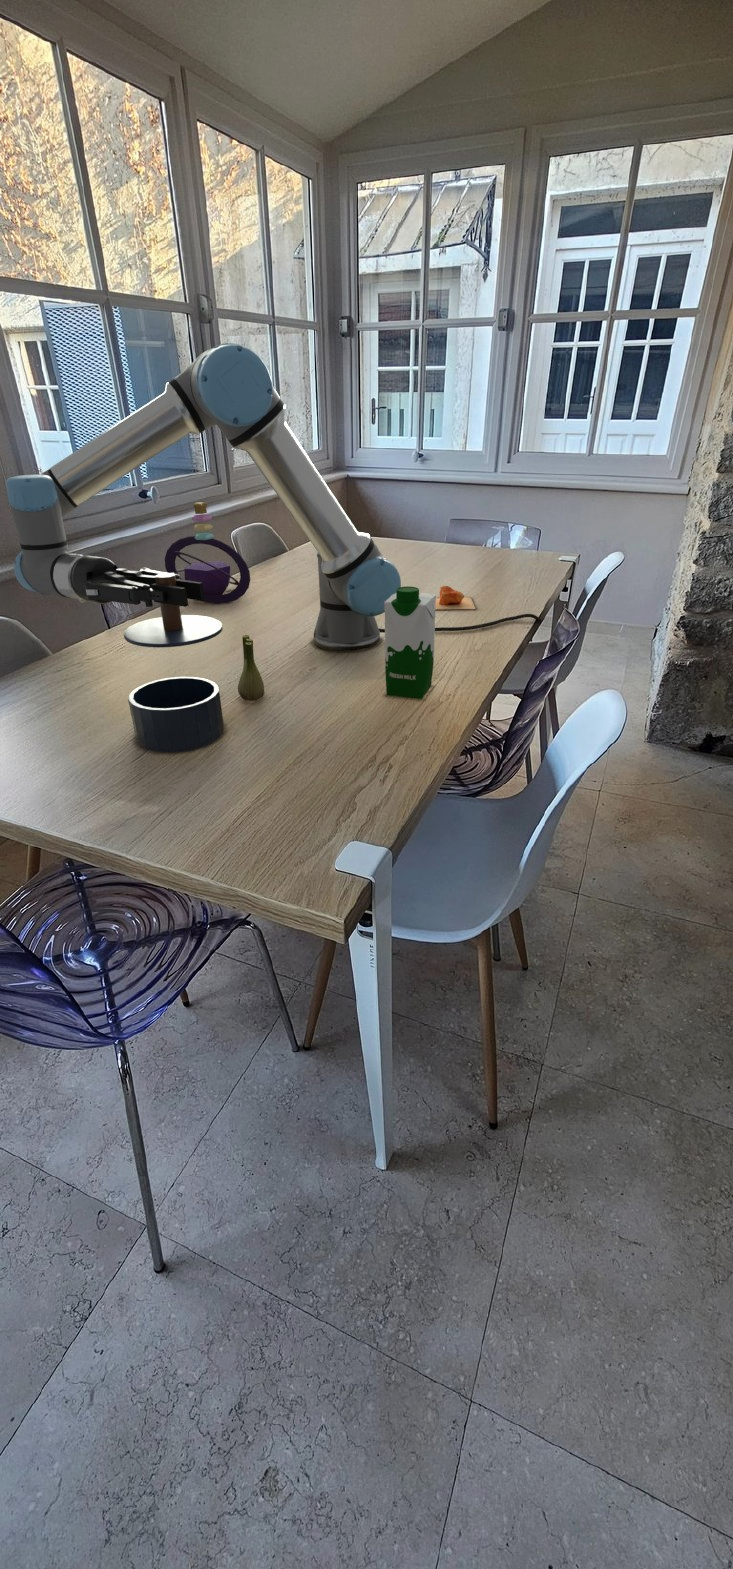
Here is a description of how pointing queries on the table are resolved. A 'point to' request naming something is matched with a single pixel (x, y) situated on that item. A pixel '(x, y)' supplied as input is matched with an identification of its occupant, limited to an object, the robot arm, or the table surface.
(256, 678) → the fennel bulb
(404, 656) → the milk carton
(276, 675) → the table surface
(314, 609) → the table surface
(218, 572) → the decorative bottle
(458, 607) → the rock
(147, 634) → the pot lid
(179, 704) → the pot
